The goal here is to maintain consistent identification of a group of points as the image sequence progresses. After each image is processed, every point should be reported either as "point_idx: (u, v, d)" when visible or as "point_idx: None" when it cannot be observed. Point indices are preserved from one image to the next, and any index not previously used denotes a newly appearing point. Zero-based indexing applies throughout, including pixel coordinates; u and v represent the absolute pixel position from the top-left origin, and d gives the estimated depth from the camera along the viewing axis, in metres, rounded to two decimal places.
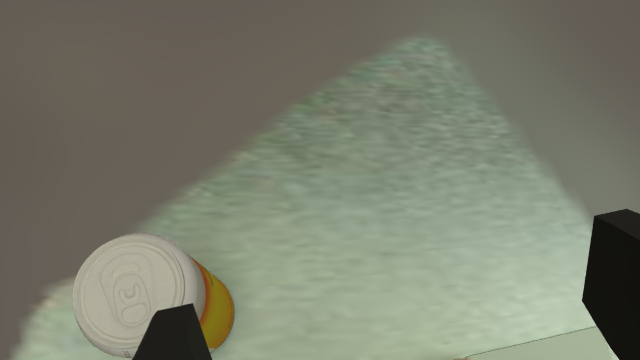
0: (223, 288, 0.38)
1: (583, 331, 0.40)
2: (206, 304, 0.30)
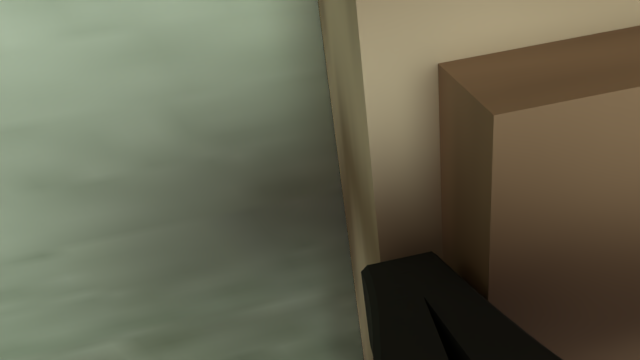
0: None
1: None
2: None
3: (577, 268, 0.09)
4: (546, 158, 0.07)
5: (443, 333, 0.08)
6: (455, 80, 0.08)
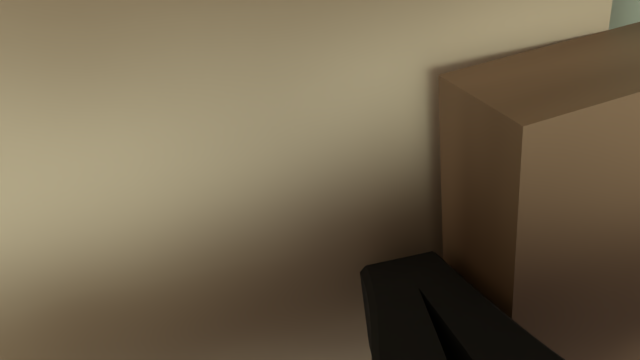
0: None
1: None
2: None
3: (596, 273, 0.08)
4: (570, 167, 0.07)
5: (444, 333, 0.08)
6: (465, 90, 0.08)
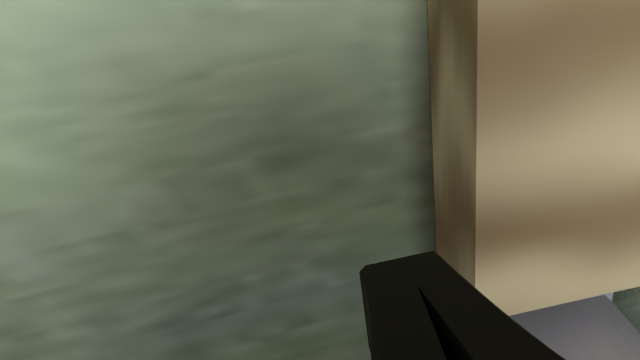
0: None
1: None
2: None
3: None
4: None
5: (445, 333, 0.08)
6: None
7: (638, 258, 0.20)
